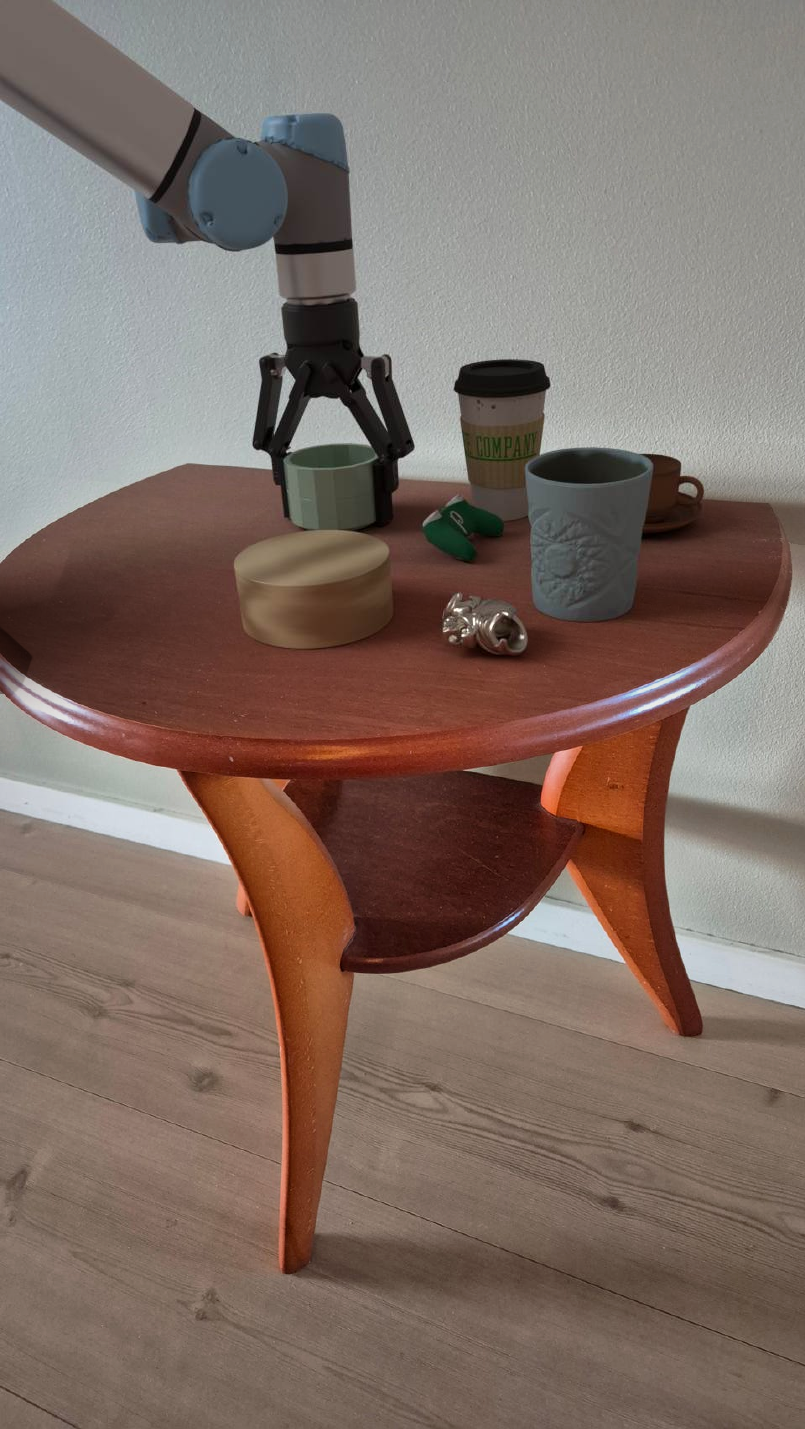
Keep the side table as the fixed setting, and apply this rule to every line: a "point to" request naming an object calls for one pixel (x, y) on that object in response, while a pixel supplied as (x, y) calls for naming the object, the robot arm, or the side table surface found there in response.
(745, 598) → the side table surface
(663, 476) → the cup and saucer
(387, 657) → the side table surface
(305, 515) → the bowl
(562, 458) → the blue-grey embossed tumbler
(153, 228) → the robot arm
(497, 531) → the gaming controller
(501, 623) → the ornament
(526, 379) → the coffee cup
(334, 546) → the stand
